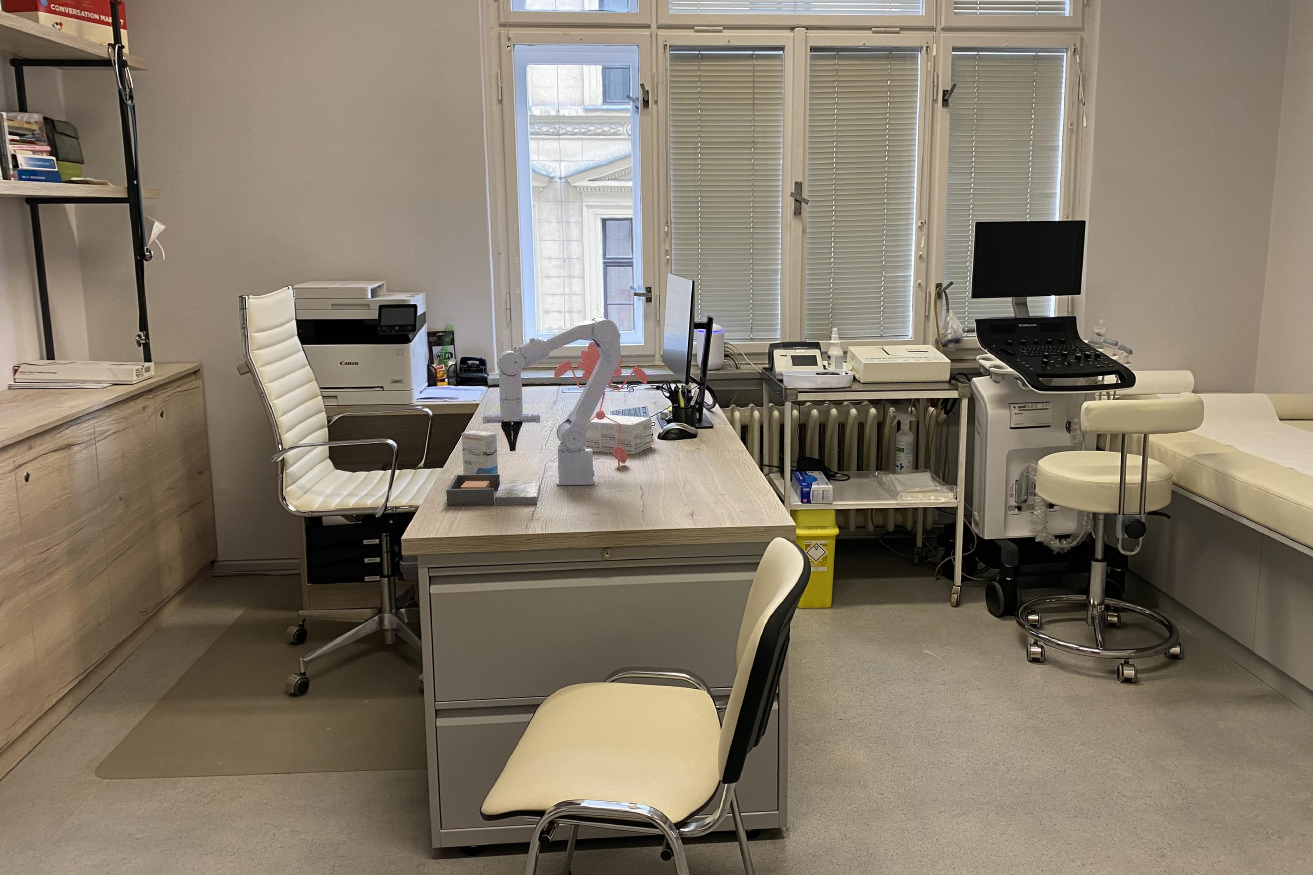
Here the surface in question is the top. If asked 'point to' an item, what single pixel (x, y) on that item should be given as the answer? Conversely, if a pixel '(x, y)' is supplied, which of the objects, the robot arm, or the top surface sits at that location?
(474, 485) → the tile
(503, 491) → the grey flat board
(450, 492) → the box
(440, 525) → the top surface
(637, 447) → the supplement box
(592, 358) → the figurine
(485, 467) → the ink box
